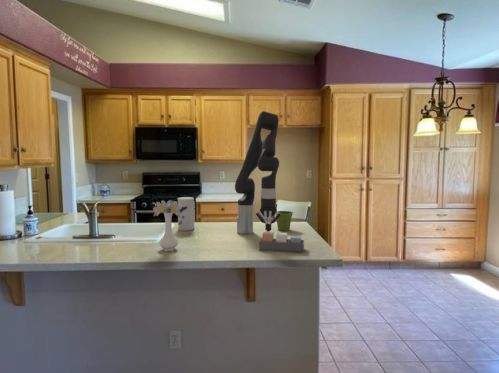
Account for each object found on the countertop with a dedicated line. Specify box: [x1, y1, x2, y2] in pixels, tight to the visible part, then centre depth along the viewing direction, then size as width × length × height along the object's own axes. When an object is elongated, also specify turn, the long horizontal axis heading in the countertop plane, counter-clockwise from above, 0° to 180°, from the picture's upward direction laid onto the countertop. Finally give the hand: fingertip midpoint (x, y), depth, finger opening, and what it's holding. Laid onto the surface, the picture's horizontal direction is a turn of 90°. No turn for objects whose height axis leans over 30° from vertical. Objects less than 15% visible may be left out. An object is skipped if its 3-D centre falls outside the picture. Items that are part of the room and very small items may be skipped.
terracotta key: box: [261, 231, 275, 242], centre depth 182 cm, size 5×5×4 cm
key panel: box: [258, 237, 305, 254], centre depth 181 cm, size 22×8×4 cm, turn 78°
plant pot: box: [274, 210, 294, 232], centre depth 226 cm, size 12×12×11 cm
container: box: [177, 196, 195, 232], centre depth 229 cm, size 10×10×20 cm
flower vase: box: [152, 199, 182, 252], centre depth 181 cm, size 13×18×25 cm
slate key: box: [290, 235, 302, 243], centre depth 180 cm, size 5×5×4 cm
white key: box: [275, 232, 288, 243], centre depth 181 cm, size 5×5×4 cm
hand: (268, 231), depth 182 cm, fingers closed
